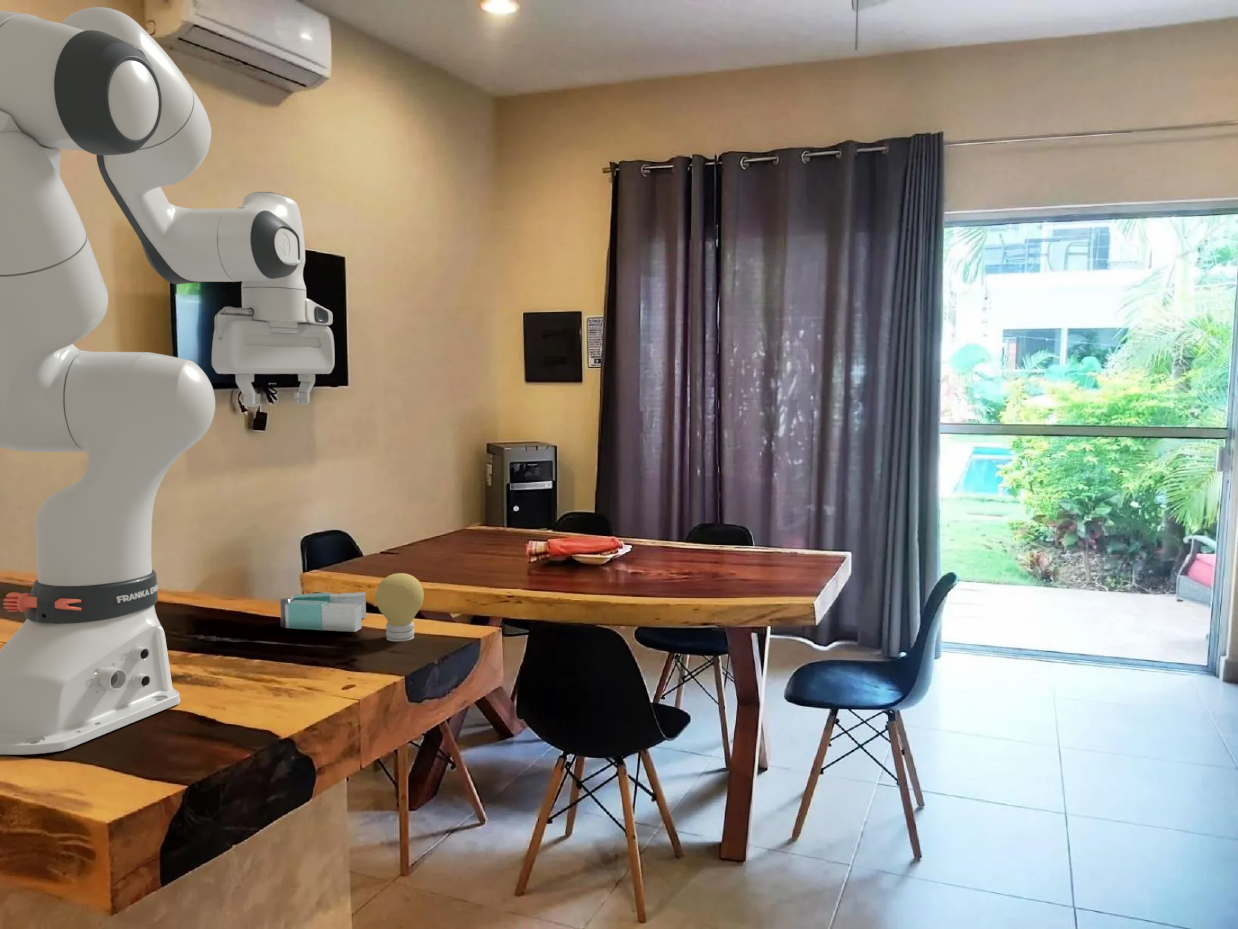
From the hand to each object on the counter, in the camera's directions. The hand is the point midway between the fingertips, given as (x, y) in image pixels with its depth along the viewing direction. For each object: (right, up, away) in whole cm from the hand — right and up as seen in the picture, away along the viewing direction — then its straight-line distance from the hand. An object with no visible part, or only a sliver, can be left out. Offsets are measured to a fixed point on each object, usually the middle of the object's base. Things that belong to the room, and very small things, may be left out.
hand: (277, 405), depth 132 cm
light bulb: (+20, -34, -9) cm, 40 cm away
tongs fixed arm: (+8, -32, -4) cm, 33 cm away
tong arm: (+7, -32, 0) cm, 32 cm away
